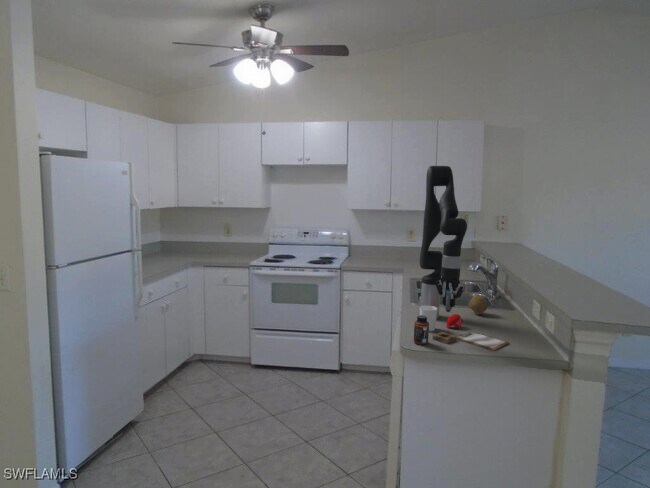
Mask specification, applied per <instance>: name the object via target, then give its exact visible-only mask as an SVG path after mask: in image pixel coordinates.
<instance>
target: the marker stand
mask: <svg viewBox="0 0 650 488" xmlns="http://www.w3.org/2000/svg"><path fill="white" fill-rule="evenodd" d="M456 337H457V335H454V334H450V333H447V332H444V331H441V332H437V333H434V334H433V335H432V340H433V339H434V341H437V342H440V343H443V344H446V345H447V344H450V343H453V342H455V341H457V339H456Z"/></svg>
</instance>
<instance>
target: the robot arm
mask: <svg viewBox="0 0 650 488" xmlns="http://www.w3.org/2000/svg"><path fill="white" fill-rule="evenodd" d="M425 181H426V182H425V183H426V185H425V187H426V188H425V205H424V213H423V223H422V224H423V225H422V226H423V228H422V229H423V230H422V241H421V248H420V255H419V266H420V269H422V270H431V271H432V270H433V271H432V272H431V273H429V274H426V275H424V276H422V278H421V292H420V296H419V298H418V316H419V315H420V306H434V307H436V308H437V318H436V320H437V319H439V317H440V309H441V308H440V304H441V297H442V305H443V306H444V307H445V304H446V290H450V294H451V299H450V307H451V308H452V309H453V308H454V307H455V306H456V299H459V298H461V296H462V295H463V292H464V291H465V289H466V288H467V287H466V286H465V285H463V284H461V281H460V278H461V268H462V267H461V266H462V260H461V257H462V256H461V253H462V245H463V241H464V238H465V235H466V233H467V230H468V223H467V221H466V220H465V219H464V218H459V217H458V216H459V208H458V205H457V201H456V196H455V184H454V183H455V182H454V175H453V170H452V168H451V167H450V166H448V165H430V166H428V168H427V170H426V180H425ZM435 187H445V190H444V192H443V193H442V195H441V196H440V198H439V200H438V199H437V197H436V194H435ZM440 232H441V234H443V235H445V236H455V237H454V238H453V239H451V240H446V241H445V242H444V243H443V247H442V248H443V249H442V251H440V250H429V249H430V247H431V244H432V243H433V242H434V240H435V239H436V237H437V236H438V235H439V234H440ZM457 289H458V290H457Z"/></svg>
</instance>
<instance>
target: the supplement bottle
mask: <svg viewBox="0 0 650 488" xmlns="http://www.w3.org/2000/svg"><path fill="white" fill-rule="evenodd" d="M413 326H414V328H413V342H414V343H415V344H417V345H421V346H424V345H427V344H428V343H429V336H430V335H429V334H430V333H429V332H430V331H429V323H428V322H427V317H426V316H423V315H419V314H418V315H417V318H416V320H415V321H414V325H413Z"/></svg>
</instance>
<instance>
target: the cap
mask: <svg viewBox="0 0 650 488" xmlns="http://www.w3.org/2000/svg"><path fill="white" fill-rule="evenodd" d="M462 324H463V319H462V318H461V315H459V314H457V313H454V314H451V315H449V316H448V317H447V322H446V329H450V328H451V327H452V326H455V327H457V329H460V328H461V326H462Z"/></svg>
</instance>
